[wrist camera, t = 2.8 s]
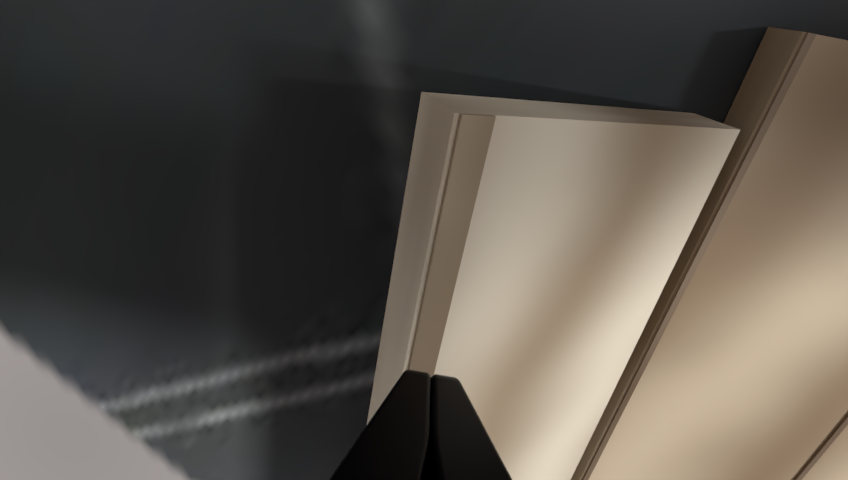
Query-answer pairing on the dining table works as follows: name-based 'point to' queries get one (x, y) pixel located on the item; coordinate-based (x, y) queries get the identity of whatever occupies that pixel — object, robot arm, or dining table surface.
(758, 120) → the laid floor
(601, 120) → the plank
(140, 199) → the dining table surface
